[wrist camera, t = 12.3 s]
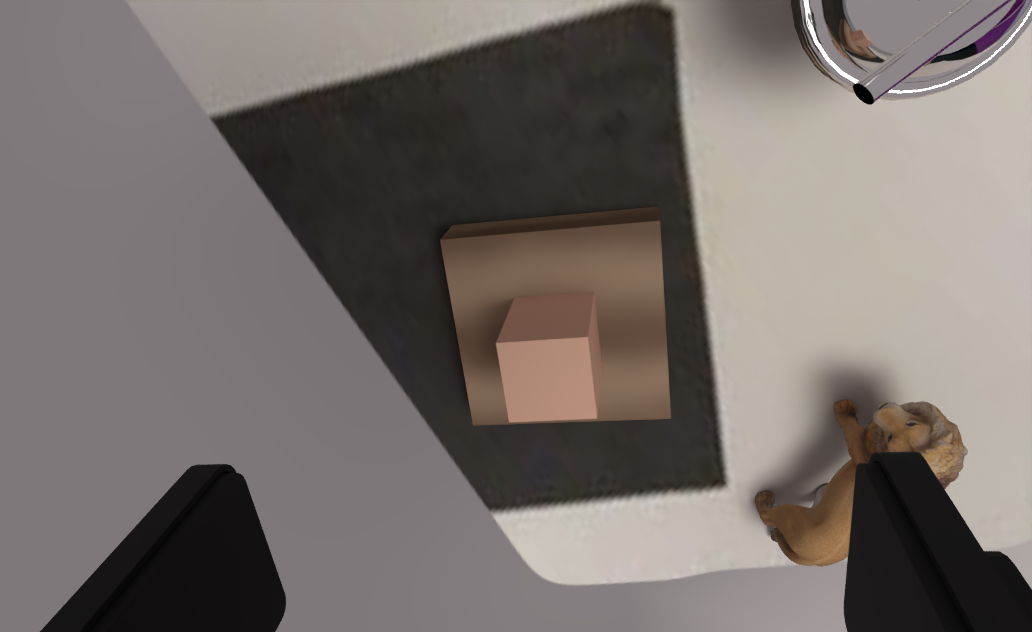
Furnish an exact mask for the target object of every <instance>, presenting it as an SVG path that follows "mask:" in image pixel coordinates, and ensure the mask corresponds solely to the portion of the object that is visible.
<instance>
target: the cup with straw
mask: <svg viewBox="0 0 1032 632" xmlns="http://www.w3.org/2000/svg"><path fill="white" fill-rule="evenodd" d="M791 6H792V12H793V19H794V25H795V29H796V31H797V34H798V36H799V39H800V42H801V44H802V47H803V49H804V50H805V52H806V53H807V55H808V56H809V58H810V59H811V61H812V62H813V64H814V65H815V66H816V67H817V68H818V69H819V70H820V71H821V72H822V73H823V74H824V75H825V76H826V77H827V78H828V79H829V80H830V81H832V82H834V83H835V84H837V85H839V86H840V87H842V88H844V89H846V90H847V91H849V92H852V93H855V94H856V96H857V97H858V98H859V99H860V100H861V101H863V102H864V103H866V104H873V103H874V102H876V101H877V100H878V99H882V100H892V101H893V100H905V99H916V98H920V97H923V96H927V95H931V94H935V93H938V92H941V91H945V90H948V89H950V88H952V87H954V86H957V85H959V84H961V83H963V82H965V81H967V80H970V79H971V78H973V77H974V76H976V75H977V74H979V73H980V72H982V71H983V70H985V69H986V68H988V67H989V66H991V65H992V64H993V63H994V62H996V61H997V60H998V59H999V58H1000V57H1001V56H1002V55H1003V54H1004V53H1005V52H1006V51H1007V50H1009V49H1010V48H1011V47H1012V46H1013V45H1014V43H1015V42H1016V41H1017V40H1018V38H1019V37H1020V36H1021V35H1022V33H1023V32H1024V31H1025V30H1026V28H1027V27H1028V26H1029V25H1030V23H1031V21H1032V0H791Z"/></svg>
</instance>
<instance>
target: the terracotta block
mask: <svg viewBox="0 0 1032 632" xmlns="http://www.w3.org/2000/svg"><path fill="white" fill-rule="evenodd" d="M496 347H497V353H498V359H499V365H500V371H501V377H502V383H503V389H504V395H505V401H506V407H507V413H508V419H509V422H532V421H555V420H578V419H597V414H598V403H599V391H600V379H601V367H602V362H601V353H600V343H599V334H598V324H597V315H596V306H595V296H594V292H583V293H570V294H557V295H545V296H532V297H519V298H514V300H513V303H512V305H511V308H510V310H509V312H508V315H507V317H506V320H505V322H504V325H503V327H502V329H501V332H500V334H499V337H498V339H497V342H496Z"/></svg>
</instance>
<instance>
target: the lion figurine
mask: <svg viewBox="0 0 1032 632" xmlns="http://www.w3.org/2000/svg"><path fill="white" fill-rule="evenodd" d="M834 410H835V415H836V419H837V421H838V422H839V424H840V425H841V427H842V428H843V430H844V433H845V436H846V441H847V445H848V452H849V455H850V456H851V457H852V459H851V460H849V461H848V462H847V463H846V464H845V465H844V466H843V467H842V468H841V469H840V470H839V471H838V472H837V473H836V474H835V475H834V477H833V478H832V479H831V481H830V482H829V483H828V484H826V485H823V486H822V487H820V488H819V489H818V491H817V493H816V497H815V500H814V503H813V506H812V508H807V507H803V506H800V505H794V504H782V505H778V506H774V507H772V506H773V505H774V503H775V498H774V496H773V494H772V493H768V492H760V493H759V494H758V495H757V497H756V500H755V503H756V507H757V510H758V512H759V515H760V517H761V519H762V521H763V523H764V524H765V525H767V526H775V527H777V528H775V529H773V530H772V531H771V539H772V540H773V541H776V542H778V545H779V546H780V548H781V550H782V551H783V553H784V554H785V555H786V556H787V557H788V558H789V559H790V560H791V561H793V562H795V563H797V564H799V565H805V566H812V565H816V566H827V565H831V564H834V563H837V562H839V561H842V560H844V559H845V558H846V557H848V552H849V540H850V529H851V518H852V507H853V496H854V484H855V473H856V467H857V465H858V464H859V463H869V462H870V457H871V455H872V454H873V453H875V452H919V453H921V454H922V456H923V457H924V458H925V460H926V461H927V463H928V464H929V466H930V468H931V469H932V471H933V472H934V474H935V475H936V477H937V479H938V480H939V482H940V483H941V485H942V486H943V488H944V489H945V488H946V487H947V486H948V485H949V484H950V482H953V481H954V480H955V479H956V478H957V477H958V474H959V473H958V472H960V471H961V470H962V468H963V460H964V456H965V455H966V454H967V453H968V450H967V449H966V448H965V447H964V446H963V443H962V439H961V435H960V432H959V430H958V427H957V425H955V424H954V423H952V422H950V421H948V420H947V418H946V417H945V416H944V415H943V414H942V413H941V411H940V410H939V409H938V408H937V407H935V406H934V405H932V404H930V403H928V402H923V401H922V402H916V403H914V402H910V403H906V404H902V405H898V404H896V403H892V402H890V401H884V402H882V403H881V404H880V405H879V406H878V408H877V411H875V412H874V414H873V420H872V424H871V425H868V426H867V427H866V429H864V428H863V427H862V426H861V425H860V424H859V423H858V419H857V418H856V416H855V414H856V411H857V408H856V405H855V404H853V403H852V402H851V400H843V401H840V402H837V403H835V407H834ZM771 507H772V508H771Z"/></svg>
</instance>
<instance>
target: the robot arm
mask: <svg viewBox="0 0 1032 632" xmlns="http://www.w3.org/2000/svg"><path fill="white" fill-rule="evenodd" d="M285 607H286V597H285V592H284V590H283V587H282V584H281V581H280V578H279V576H278V572H277V570H276V567H275V564H274V561H273V558H272V555H271V552H270V549H269V546H268V544H267V541H266V538H265V535H264V532H263V529H262V527H261V524H260V521H259V518H258V515H257V512H256V509H255V506H254V503H253V501H252V498H251V495H250V492H249V489H248V486H247V483H246V481H245V479H244V477H243V476H242V475H241V474H239V473H236V471H235V469H234V468H233V467H232V466H231V465H227V464H219V465H218V464H217V465H216V464H214V465H195V466H191V467H190V468H189V469H188V470H187V471H186V472H185V473H184V474H183V475H182V476H181V477H180V478H179V479H178V481H177V482H176V483H175V484H174V485H173V486H172V487H171V488H170V489H169V490H168V491H167V493H166V494H165V495H164V496H163V497H162V498H161V499H160V500H159V501H158V503H157V504H156V505H155V506H154V507H153V508H152V509H151V510H150V511H149V512H148V513H147V515H146V516H145V517H144V518H143V519H142V520H141V521H140V522H139V524H138V525H137V526H136V527H135V528H134V529H133V530H132V531H131V532H130V533H129V534H128V535H127V537H126V538H125V539H124V540H123V541H122V542H121V543H120V544H119V546H118V547H117V548H116V549H115V550H114V551H113V552H112V553H111V554H110V555H109V556H108V557H107V559H106V560H105V561H104V562H103V563H102V564H101V565H100V566H99V568H97V570H96V571H95V572H94V573H93V574H92V575H91V576H90V577H89V578H88V579H87V581H86V582H85V583H84V584H83V585H82V586H81V587H80V588H79V589H78V591H77V592H76V593H75V594H74V595H73V596H72V597H71V598H70V599H69V600H68V602H67V603H66V604H65V605H64V606H63V607H62V608H61V609H60V610H59V611H58V613H57V614H56V615H55V616H54V617H53V618H52V619H51V620H50V622H48V624H47V625H46V626H45V627H44V628H43V629H42V630H41V631H40V632H275V631H276V629H277V628H278V626H279V624H280V622H281V620H282V618H283V616H284V612H285ZM844 617H845V623H846V628H847V631H848V632H1032V589H1031V588H1030V587H1029V585H1028V584H1027V582H1026V581H1025V579H1024V578H1023V576H1022V575H1021V573H1020V572H1019V570H1018V569H1017V567H1016V566H1015V565H1014V563H1013V562H1012V561H1011V560H1010V559H1009V558H1008V556H1006V555H1004V554H1002V553H1001V552H999V551H996V552H995V551H993V552H992V551H983V549H982V548H981V546H980V545H979V543H978V541H977V540H976V538H975V537H974V535H973V534H972V532H971V530H970V529H969V527H968V526H967V524H966V523H965V521H964V519H963V518H962V516H961V515H960V513H959V512H958V510H957V508H956V507H955V505H954V504H953V502H952V501H951V499H950V497H949V496H948V494H947V493H946V491H945V490H944V488H943V486H942V485H941V483H940V482H939V480H938V479H937V477H936V475H935V474H934V472H933V471H932V469H931V468H930V466H929V464H928V463H927V461H926V460H925V458H924V457H923V456H922V454H921V453H919V452H875V453H873V454H872V455H871V457H870V462H869V463H859V464H858V465H857V467H856V473H855V484H854V496H853V507H852V518H851V529H850V540H849V552H848V563H847V575H846V585H845V596H844Z"/></svg>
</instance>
